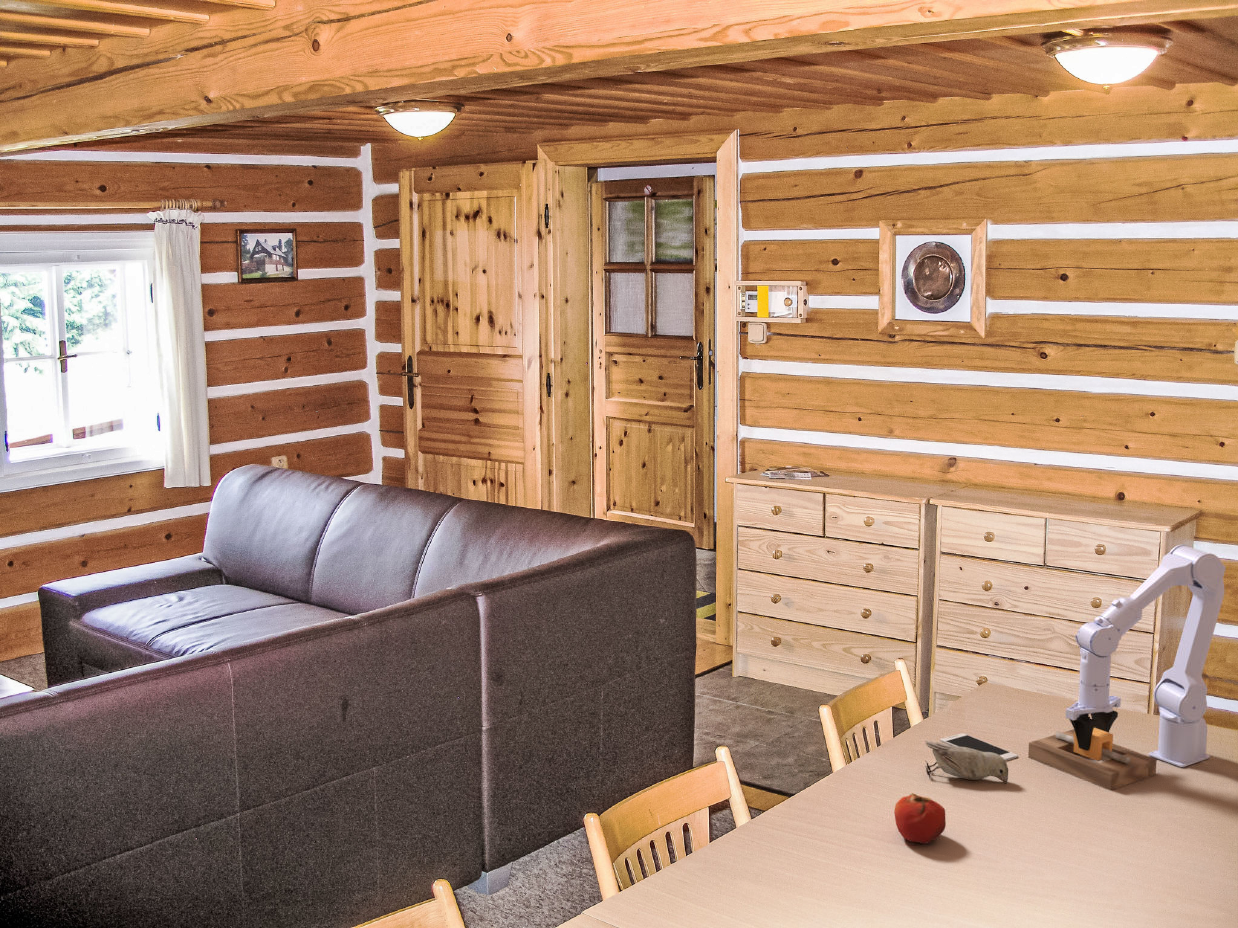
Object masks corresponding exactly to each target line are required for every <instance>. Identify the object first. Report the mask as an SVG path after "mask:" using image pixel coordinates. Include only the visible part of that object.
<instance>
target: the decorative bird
mask: <svg viewBox="0 0 1238 928" xmlns="http://www.w3.org/2000/svg"><path fill="white" fill-rule="evenodd" d="M924 743H925V745H926V747H928V748H930V749H932V754H933V756H934V760H935V762H934V764H932V765H929V762H927V760H925V763H926V765H924V767H925V769H926V770H925V771H926V774H927V776H928V777H929V778H928V779H929V780H930V779H931V773H933V772H935V771H936V770H938V769H941V770H942V771H943V772H944V773H945V774H947V775H952V776H953V777H958V778H961V779H966V780H983V779H986V778H988V777H994V778H997V779H999V780H1000V781H1001V782H1002V783H1005V784H1007V783H1008V779H1009V768H1008V764H1007V761H1005V760H1004V759H1003V758H1002V757H1001V756H1000V755H998V754H996V753H992V752H982V751H978V750H975V749H971V748H966V747H959V746H949V745H947V744H945V743H942V742H938V741H937V742H934V741H927V740H924ZM933 767H935V768H933ZM931 768H933V769H932V770H931Z"/></svg>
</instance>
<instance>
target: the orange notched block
mask: <svg viewBox="0 0 1238 928" xmlns="http://www.w3.org/2000/svg"><path fill="white" fill-rule="evenodd" d="M1113 739H1114V734H1113V733H1111V732H1109V733H1108V732H1105V731H1103V730H1100V729H1097V728H1094V729H1093V732H1092V737H1091V745H1090V749H1089V750H1088V751H1086V750H1083V749H1081V748H1079V746H1078V742H1077V737H1076V733H1075V732H1074V752H1076V753H1078V754H1081V755H1080V756H1084V757H1086V758H1088V759H1091V760H1094V761H1097V762H1101V761H1102V760H1101V755H1102V748H1104V749H1107V750H1110V751H1112V745H1113V744H1114V740H1113ZM1105 757H1106V756H1105Z"/></svg>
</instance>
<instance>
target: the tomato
mask: <svg viewBox="0 0 1238 928" xmlns="http://www.w3.org/2000/svg"><path fill="white" fill-rule="evenodd" d="M894 806H895V807H894V811H893V813H894V820H895V826H896V828H897V831H898V832H899V834H900V835H901V836H902V837H903V839H905V840H908V841H910V842H915V843H921V844H927V843H930V842H933V841H934V840H936V839H937V838H939V837H940V836H941V835H942V834H943V833H944V832H945V829H946V822H947V821H946V809H945V808H944V807H943V806H942V804H940V803H938V802H937V801H935V800H934V799H932V798H930V797H927V796H926V797H925V796H921V795H917V794H915V793H913V792H912V793H910V794H909V795H906V796H902V797H901V798H900V799H899V800H898V801H897V802H896V803H895V805H894Z"/></svg>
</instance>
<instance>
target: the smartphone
mask: <svg viewBox="0 0 1238 928" xmlns="http://www.w3.org/2000/svg"><path fill="white" fill-rule="evenodd" d="M939 743H941V744H945V745H949V746H959V747H966V748H971V749H975V750H978V751H982V752H992V753H996V754H998V755H1000V756H1001V757H1002V758H1003V759H1004V760H1005V762H1007V761H1010V760H1014V759H1018V757H1019V755H1018V754H1017V753H1014V752H1012V751H1009V750H1007V749H1004V748H1002V747H1000V746H997V745H994V744H992V743H989V742H987V741H983V740H982V739H979V738H976V737H974V736H972V735H970V734H967V733H963V732H961V733H958V734H954V735H950V736H946V737H943V738H940V740H939Z"/></svg>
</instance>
